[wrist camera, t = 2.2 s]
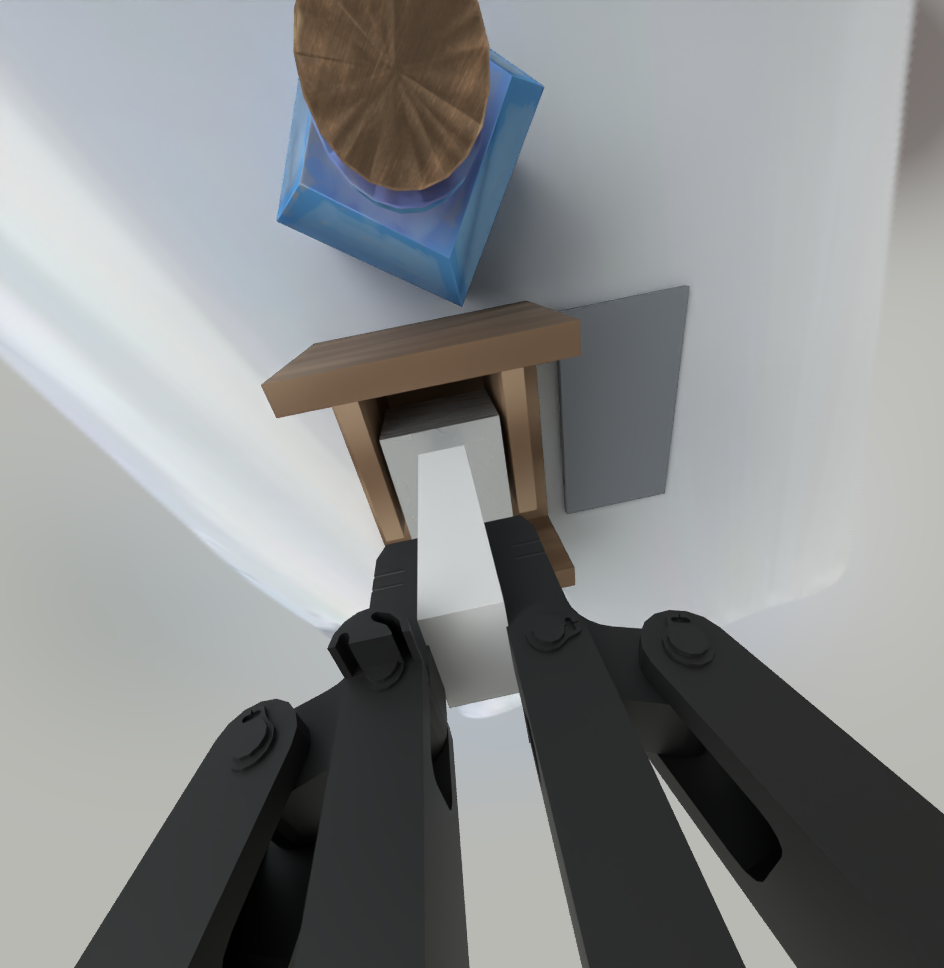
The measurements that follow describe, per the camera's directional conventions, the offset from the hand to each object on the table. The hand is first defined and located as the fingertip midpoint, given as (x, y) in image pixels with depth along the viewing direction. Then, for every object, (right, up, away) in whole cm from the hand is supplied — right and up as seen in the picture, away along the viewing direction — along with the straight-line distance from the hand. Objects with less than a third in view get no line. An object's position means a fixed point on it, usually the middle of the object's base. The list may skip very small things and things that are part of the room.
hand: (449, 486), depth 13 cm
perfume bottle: (-2, +13, +4) cm, 14 cm away
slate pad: (+10, +4, +10) cm, 15 cm away
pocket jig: (-1, +2, +11) cm, 11 cm away
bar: (0, 0, +7) cm, 7 cm away
